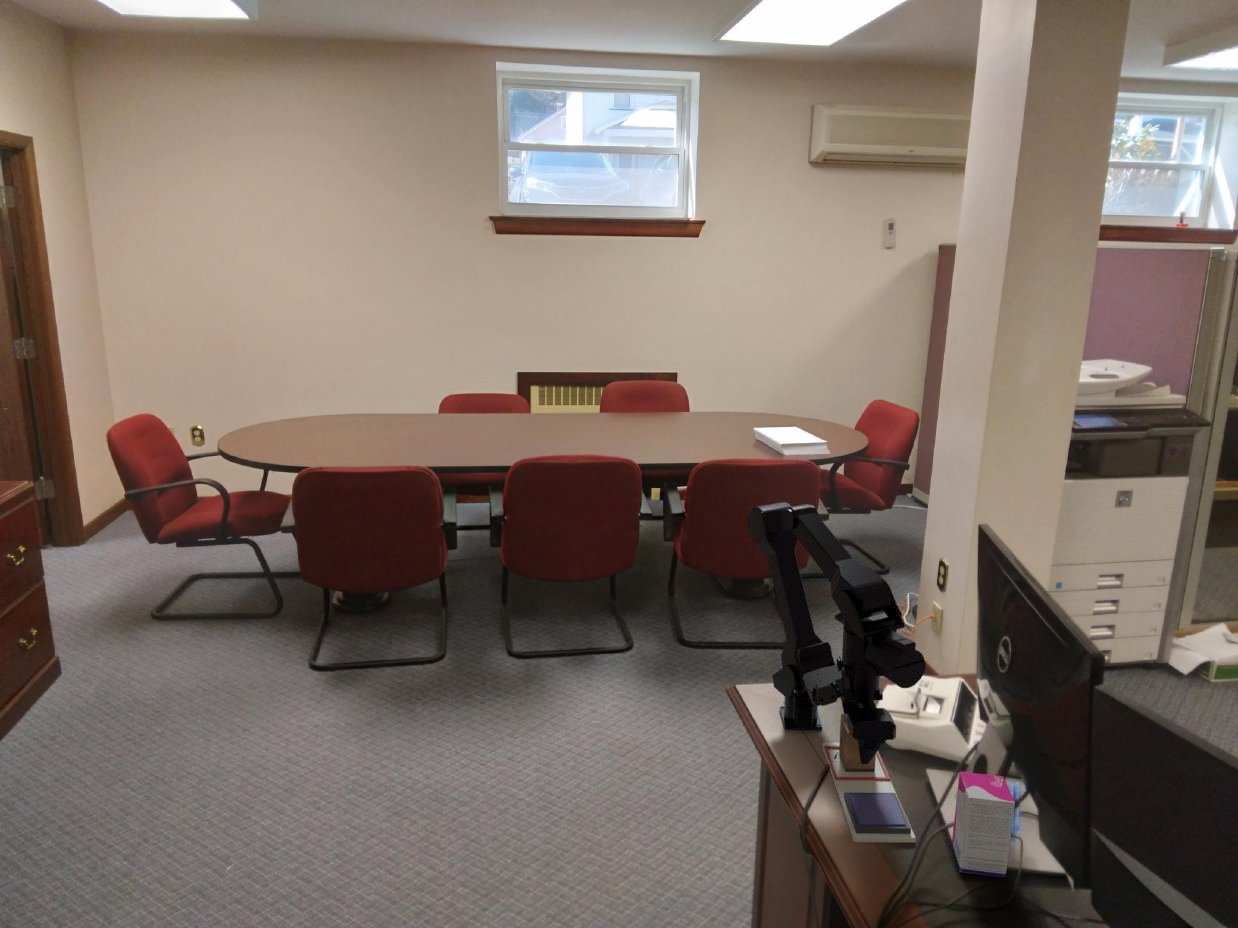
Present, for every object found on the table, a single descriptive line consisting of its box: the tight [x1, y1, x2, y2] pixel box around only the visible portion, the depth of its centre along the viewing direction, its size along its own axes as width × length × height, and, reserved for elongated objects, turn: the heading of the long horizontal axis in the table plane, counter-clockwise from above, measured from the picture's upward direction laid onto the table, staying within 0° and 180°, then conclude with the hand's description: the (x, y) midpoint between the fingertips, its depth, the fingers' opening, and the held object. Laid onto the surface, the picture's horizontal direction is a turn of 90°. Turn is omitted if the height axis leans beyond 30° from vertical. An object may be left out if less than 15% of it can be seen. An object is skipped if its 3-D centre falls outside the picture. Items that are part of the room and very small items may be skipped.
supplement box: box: [951, 771, 1016, 878], centre depth 104 cm, size 6×6×12 cm
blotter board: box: [821, 742, 917, 844], centre depth 119 cm, size 22×8×2 cm, turn 177°
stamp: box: [839, 713, 876, 772], centre depth 124 cm, size 4×4×7 cm
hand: (857, 745), depth 124 cm, fingers open, 9 cm apart
